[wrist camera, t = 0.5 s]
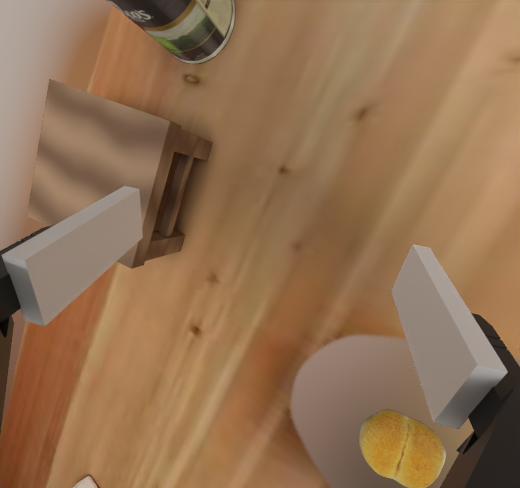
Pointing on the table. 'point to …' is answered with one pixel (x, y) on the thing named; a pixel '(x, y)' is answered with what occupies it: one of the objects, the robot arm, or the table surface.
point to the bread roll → (401, 449)
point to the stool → (110, 164)
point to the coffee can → (184, 25)
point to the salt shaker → (86, 483)
